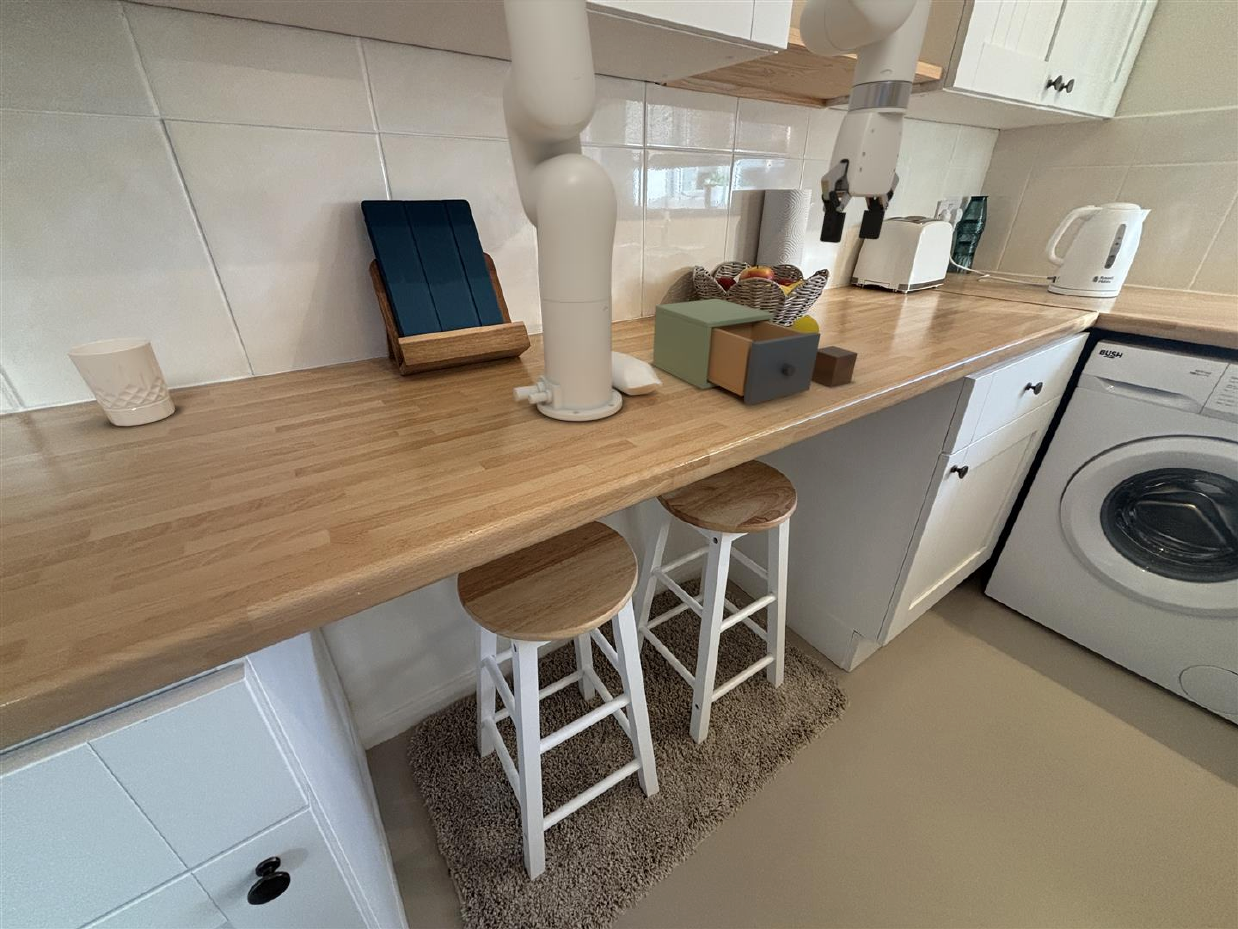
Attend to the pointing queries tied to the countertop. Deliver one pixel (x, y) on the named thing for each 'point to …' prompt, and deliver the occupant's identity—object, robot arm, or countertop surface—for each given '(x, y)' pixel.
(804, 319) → the lemon
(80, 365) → the white cup
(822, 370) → the block
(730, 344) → the drawer
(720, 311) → the cabinet
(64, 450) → the countertop surface
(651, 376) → the white pouch
